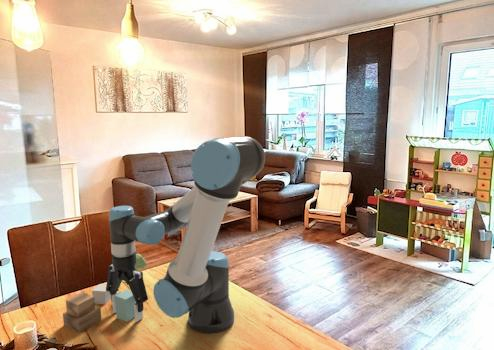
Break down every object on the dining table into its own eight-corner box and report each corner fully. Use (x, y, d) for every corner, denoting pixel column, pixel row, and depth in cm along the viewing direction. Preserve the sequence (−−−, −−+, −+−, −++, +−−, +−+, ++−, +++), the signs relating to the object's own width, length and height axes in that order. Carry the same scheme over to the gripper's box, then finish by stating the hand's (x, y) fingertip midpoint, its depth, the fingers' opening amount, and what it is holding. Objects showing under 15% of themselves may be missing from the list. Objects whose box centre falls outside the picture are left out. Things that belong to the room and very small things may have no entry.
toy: (148, 292, 135) (146, 255, 133) (126, 297, 132) (125, 258, 129) (143, 284, 142) (142, 249, 139) (123, 289, 138) (121, 252, 135)
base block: (101, 320, 117) (100, 308, 117) (80, 333, 110) (78, 320, 110) (85, 314, 121) (84, 302, 120) (64, 326, 114) (62, 313, 113)
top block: (95, 309, 116) (94, 296, 115) (79, 318, 111) (77, 304, 110) (83, 304, 119) (82, 291, 118) (66, 313, 114) (65, 300, 113)
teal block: (138, 314, 120) (137, 292, 119) (127, 321, 116) (125, 299, 115) (128, 310, 123) (126, 289, 121) (116, 317, 119) (115, 295, 117)
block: (112, 297, 132) (112, 284, 131) (105, 304, 127) (104, 291, 126) (100, 296, 133) (99, 283, 132) (92, 303, 128) (91, 290, 127)
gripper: (157, 255, 114) (160, 319, 117) (109, 243, 124) (113, 301, 128) (140, 264, 107) (143, 331, 111) (91, 250, 118) (96, 311, 122)
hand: (127, 315), depth 119 cm, fingers open, 10 cm apart
